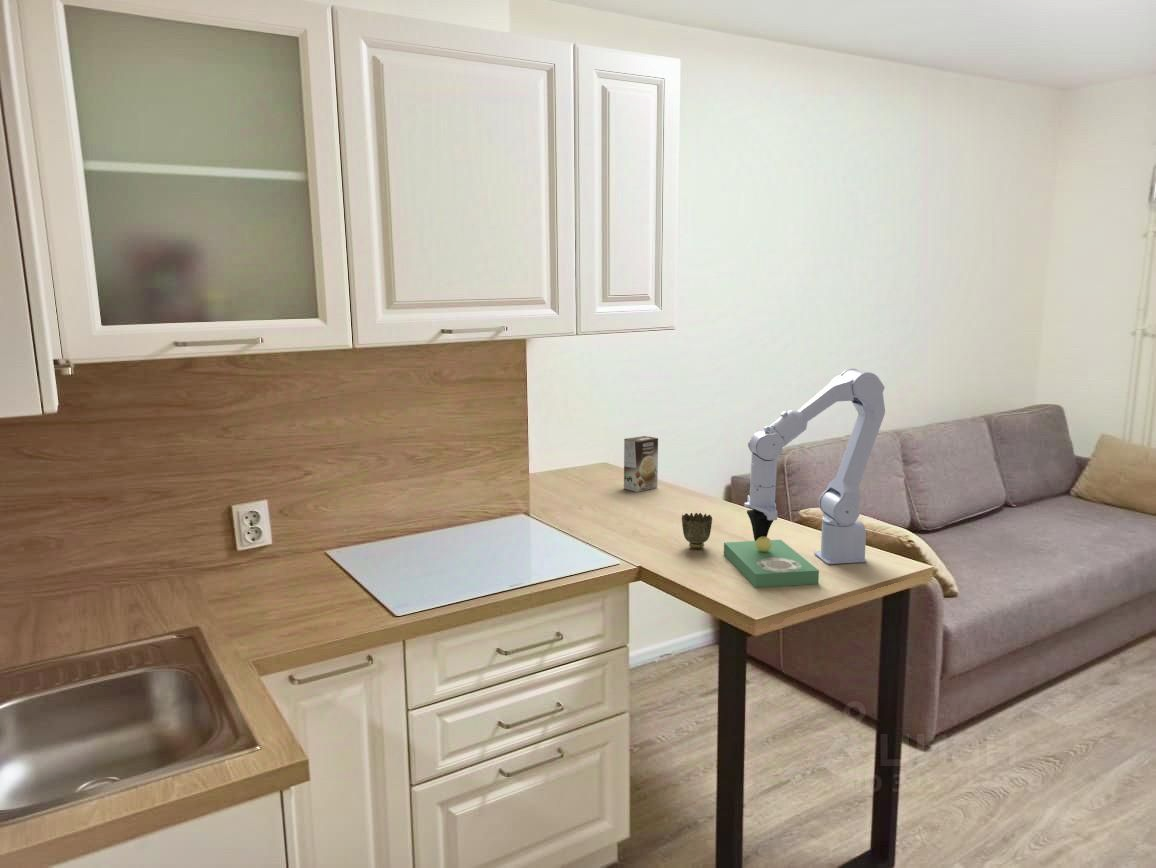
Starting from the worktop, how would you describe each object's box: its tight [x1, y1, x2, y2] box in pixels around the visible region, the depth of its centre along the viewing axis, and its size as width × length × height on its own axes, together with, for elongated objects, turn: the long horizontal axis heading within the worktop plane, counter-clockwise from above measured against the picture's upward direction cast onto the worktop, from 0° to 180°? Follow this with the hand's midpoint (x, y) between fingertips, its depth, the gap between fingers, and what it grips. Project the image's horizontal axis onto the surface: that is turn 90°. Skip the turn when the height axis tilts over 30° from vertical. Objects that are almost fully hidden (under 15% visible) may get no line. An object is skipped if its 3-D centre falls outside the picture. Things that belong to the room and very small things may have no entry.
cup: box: [681, 512, 713, 550], centre depth 202 cm, size 8×7×8 cm
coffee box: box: [623, 435, 659, 493], centre depth 260 cm, size 9×6×16 cm
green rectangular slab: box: [723, 539, 820, 589], centre depth 187 cm, size 14×22×3 cm, turn 8°
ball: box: [755, 536, 772, 552], centre depth 190 cm, size 4×4×4 cm
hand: (760, 541), depth 191 cm, fingers closed, pressing on ball
